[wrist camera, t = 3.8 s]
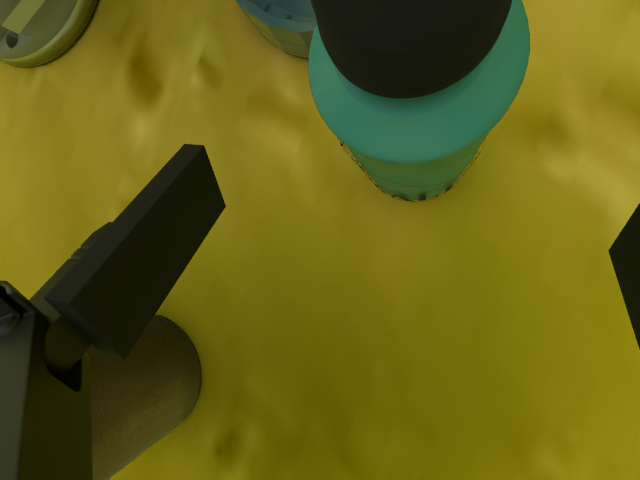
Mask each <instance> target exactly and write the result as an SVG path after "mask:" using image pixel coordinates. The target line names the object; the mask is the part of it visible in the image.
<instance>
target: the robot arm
mask: <svg viewBox="0 0 640 480" xmlns="http://www.w3.org/2000/svg"><path fill="white" fill-rule="evenodd" d="M96 3H97V0H0V61H3V62H5V63H7V64H10V65H13V66H18V67H34V66H38V65H42V64H45V63H47V62H50V61H51V60H53V59H55V58H57V57H58V56H60V55H61V54H62V53H64V52H65V51H66V50H67V49H68V48H69V47H70V46H71V45H72V44H73V43H74V42H75V41H76V40H77V39H78V37H79V36H80V35H81V33H82V32H83V30H84V29H85V27H86V25H87V24H88V22H89V20H90V18H91V16H92V14H93V11H94V9H95V6H96ZM225 207H226V205H225V203H224V200H223V197H222V194H221V191H220V189H219V186H218V183H217V180H216V177H215V175H214V172H213V169H212V166H211V164H210V161H209V158H208V155H207V152H206V150H205V147H204V145H192V144H184V145H183V146H182V147H181V148H180V149H179V151H178V152H177V153H176V154H175V155H174V156H173V157H172V158H171V159H170V160H169V161H168V163H167V164H166V165H165V166H164V167H163V168H162V169H161V170H160V171H159V172H158V173H157V175H156V176H155V177H154V178H153V179H152V180H151V181H150V182H149V183H148V184H147V185H146V187H145V188H144V189H143V190H142V191H141V192H140V193H139V194H138V195H137V196H136V197H135V199H134V200H133V201H132V202H131V203H130V204H129V205H128V206H127V207H126V208H125V209H124V211H123V212H122V213H121V214H120V215H119V216H118V217H117V218H116V219H115V220H114V221H113V223H112V222H108V223H107V224H105V225H104V226H102V227H101V228H99V229H98V230H96V231H95V232H93V233H92V234H91V235H90V236H89V237H88V238H87V240H86V241H85V242H84V243H83V244H82V245H81V248H80V249H79V248H78V249H77V250H76V251H75V252H74V253H73V254H72V255H71V259H68V260H67V261H66V262H65V263H64V264H63V265H62V266H61V267H60V268H59V269H58V270H57V271H56V272H55V274H54V275H53V276H52V277H51V278H50V279H49V280H48V281H47V282H46V283H45V284H44V285H43V286H42V287H41V288H40V289H39V291H38V292H37V293H36V294H35V295H34V296H33V297H32V298H31V299H30V300H28V299H26V298H25V297H24V296H23V295H22V294H21V293H20V292H19V291H18V290H17V289H15V288H14V287H13V286H12V285H11V284H9V283H8V282H7V281H0V480H93V466H92V420H91V374H90V358H89V355H88V354H87V353H86V351H87V350H88V348H89V347H90V346H91V344H92V345H93V346H94V347H95V348H96V349H97V350H98V351H99V352H100V353H101V354H102V355H106V356H110V357H114V358H118V359H122V360H125V359H126V358H127V356H128V354H129V353H130V351H131V350H132V348H133V347H134V345H135V344H136V342H137V341H138V339H139V338H140V336H141V335H142V333H143V332H144V330H145V329H146V327H147V326H148V324H149V323H150V321H151V319H152V318H153V316H154V315H155V313H156V312H157V310H158V309H159V307H160V306H161V304H162V303H163V301H164V300H165V298H166V297H167V295H168V294H169V292H170V291H171V289H172V287H173V286H174V284H175V283H176V281H177V280H178V278H179V277H180V275H181V274H182V272H183V271H184V269H185V268H186V266H187V265H188V263H189V262H190V260H191V259H192V257H193V256H194V254H195V252H196V251H197V249H198V248H199V246H200V245H201V243H202V242H203V240H204V239H205V237H206V236H207V234H208V233H209V231H210V230H211V228H212V227H213V225H214V224H215V222H216V221H217V219H218V217H219V216H220V214H221V213H222V211H223V210H224V208H225ZM609 254H610V257H611V260H612V264H613V267H614V270H615V273H616V276H617V279H618V283H619V286H620V289H621V292H622V295H623V298H624V301H625V305H626V308H627V311H628V314H629V317H630V320H631V324H632V327H633V330H634V333H635V336H636V339H637V342H638V346H639V349H640V204H639V205H638V207H637V208H636V210H635V211H634V213H633V214H632V216H631V217H630V219H629V220H628V222H627V223H626V225H625V226H624V228H623V229H622V231H621V232H620V234H619V235H618V237H617V238H616V240H615V242H614V243H613V245H612V246H611V248H610V249H609Z"/></svg>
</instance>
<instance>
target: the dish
mask: <svg viewBox="0 0 640 480" xmlns="http://www.w3.org/2000/svg"><path fill="white" fill-rule="evenodd" d="M236 1H237V3H238V4H239V6H240V7H241V8H242V10H243V11H244V12H245V13H246V15H247V16H248V17H249V19H250V20H251V21H252V22H253V24H254V25H255V26H256V27H257V29H258V30H259V31H260V33H261V34H262V35H263V36H264V38H265V39H267V40H268V41H270V42H271V43H273V44H274V45H276V46H277V47H279V48H280V49H282V50H283V51H285V52H286V53H288V54H291V55H296V56H300V57H304V58H308V59H309V51H310V44H311V40H312V36H313V33H314V29H315V27H316V24H317V19H316V15H315V12H314V9H313V6H312V4H311V0H236Z"/></svg>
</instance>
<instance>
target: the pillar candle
mask: <svg viewBox="0 0 640 480" xmlns="http://www.w3.org/2000/svg"><path fill="white" fill-rule="evenodd" d="M86 353H87V354H88V355H89V358H90V374H91V420H92V466H93V480H108V479H109V478H111V477H112V476H113V475H114V474H116V473H117V472H118V471H120V470H121V469H122V468H124V467H125V466H126V465H128V464H129V463H130V462H132V461H133V460H134V459H136V458H137V457H139V456H140V455H141V454H142V453H143V452H144V451H146V450H147V449H148V448H149V447H150V446H152V445H153V444H154V443H155V442H158V441H159V440H160V439H161V438H162V437H164V436H165V435H166V434H168V433H169V432H170V431H171V430H172V429H173V428H174V427H176V426H177V425H178V424H179V423H180V422H181V421H182V420H184V419H185V418H186V416H187V415H188V414H189V413H190V411H191V410H192V408H193V406H194V405H195V402H196V400H197V397H198V394H199V387H200V364H199V359H198V357H197V353H196V350H195V348H194V347H193V345H192V342H191V341H190V340H189V338H188V337H187V335H186V334H185V333H184V332H183V331H182V330H181V329H180V328H179V327H178V326H176V325H175V324H174V323H172V322H171V321H170V320H168V319H166V318H164V317H162V316H159V315H156V316H153V318H152V319H151V321H150V323H149V324H148V326H147V327H146V329H145V330H144V332H143V333H142V335H141V336H140V338H139V339H138V341H137V342H136V344H135V345H134V347H133V348H132V350H131V351H130V353H129V354H128V356H127V358H126V359H125V360H122V359H118V358H114V357H110V356H106V355H102V354H101V353H100V352H99V351H98V350H97V349H96V348H95V347H94V346H93V345H92V344H91V346H90V347H89V348H88V350H87V351H86Z"/></svg>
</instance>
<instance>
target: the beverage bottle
mask: <svg viewBox="0 0 640 480" xmlns="http://www.w3.org/2000/svg"><path fill="white" fill-rule="evenodd" d="M311 4H312V6H313V9H314V12H315V15H316V19H317V24H316V27H315V29H314V33H313V36H312V40H311V44H310V51H309V68H308V69H309V81H310V87H311V91H312V96H313V98H314V101H315V104H316V107H317V109H318V111H319V113H320V115H321V117H322V118H323V120H324V121H325V123H326V124H327V126H328V127H329V128H330V130H331V131H332V132H333V133H334V134H335V135H336V136H337V137H338V138H339V139H340V140H341V141H342V143H343V145H342V143H341V142H340V144H341V145H340V146H344V144H345V145H346V146H347V148H348V149H349V150H350V151H351V152H352V154H353V155H354V156H355V157H356V159H357V160H358V161H359V162H360V163H361V166H362V167H361V166H359V167H361V168H362V169H363V167H364V168H365V170H366V171H367V174H370V175H371V178H373V179H374V180H375V181H376V183H377V184H378V185H379V186H380V188H382V189H384V190H385V191H386V192H388V193H390V194H391V195H393V196H392V198H394V197H395V196H396V197H399V198H401V199H404V200H407V201H409V202H415V201H412V200H419V201H422V200H427V199H426V198H430V197H433V196H435V195H437V194H440V193H441V192H443V191H444V190H446V191H448V190H449V189H450V188H451V187H452V185H453V183H454V182H455V181H456V179H457V178H458V177H459V175H460V174H461V173H462V171H463V170H464V169H465V168H466V166H467V165H468V164H469V162H470V161H471V160H472V159H473V157H474V155H475V154H476V152H477V151H478V148H479V147H480V145H481V143H482V142H483V140H484V139H485V140H486V136H487V135H488V133H489V132H490V130H491V129H492V128H493V127H494V126H495V125H496V124H497V123H498V122H499V121H500V119H501V118H502V117H503V115H504V114H505V113H506V111H507V110H508V109H509V107H510V105H511V104H512V102H513V100H514V98H515V97H516V95H517V93H518V91H519V89H520V86H521V84H522V82H523V79H524V76H525V72H526V69H527V65H528V59H529V52H530V33H529V26H528V20H527V16H526V13H525V9H524V6H523V3H522V1H521V0H311ZM333 133H332V134H333ZM339 139H338V140H339ZM484 143H485V142H484ZM482 149H483V148H482ZM343 150H345V149H343ZM345 151H346V150H345ZM346 153H347V152H346ZM348 153H349V152H348ZM348 153H347V154H348ZM477 153H478V152H477ZM352 154H351V155H352ZM479 154H480V153H479ZM348 155H349V154H348ZM352 157H353V156H352ZM475 159H476V158H475ZM357 160H356V161H357ZM354 161H355V160H354ZM356 164H357V162H356ZM470 164H472V163H470ZM361 168H360V169H361ZM467 169H468V168H467ZM363 170H364V169H363ZM363 170H362V171H363ZM365 170H364V171H365ZM465 171H466V170H465ZM370 175H369V176H370ZM462 175H463V174H462ZM368 178H369V177H368ZM369 179H370V178H369ZM370 180H371V179H370ZM458 181H459V180H458ZM456 183H457V182H456ZM375 185H376V184H375ZM376 186H377V185H376ZM379 186H377V187H378V188H379ZM380 188H379V189H380ZM446 191H445V192H446ZM383 193H385V192H384V191H383ZM385 194H387V193H385ZM437 196H438V195H437ZM437 196H436V198H437ZM433 198H434V197H433ZM433 198H432V199H433ZM430 199H431V198H430ZM430 199H429V200H430ZM399 200H400V199H399ZM427 201H428V200H427ZM422 202H423V201H422Z"/></svg>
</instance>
